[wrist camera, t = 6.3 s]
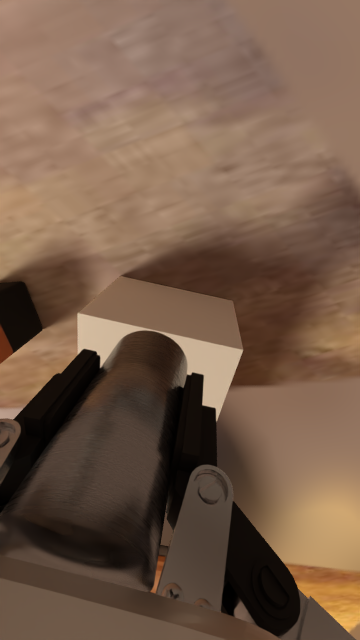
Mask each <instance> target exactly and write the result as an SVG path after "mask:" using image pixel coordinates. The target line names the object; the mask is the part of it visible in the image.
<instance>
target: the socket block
mask: <svg viewBox="0 0 360 640" xmlns="http://www.w3.org/2000/svg"><path fill="white" fill-rule="evenodd" d="M143 330H147V331H155V332H159V333H161V334H164V335H166V336H168V337H170V338H171V339H172V340H174V341H175V342H176V343H177V344H178V345H179V346H180V347H181V349H182V350H183V352H184V354H185V356H186V359H187V364H188V369H187V374H188V375H191V374H192V372H194V373H198V374H203V375H204V383H203V402H202V405H204V406H209V407H213V408H216V422H217V419H218V416H219V414H220V411H221V408H222V406H223V403H224V400H225V398H226V395H227V392H228V390H229V387H230V384H231V382H232V379H233V376H234V374H235V371H236V368H237V366H238V363H239V360H240V358H241V355H242V352H243V346H242V341H241V337H240V332H239V327H238V322H237V318H236V313H235V308H234V303H233V301H232V300H227V299H223V298H218V297H214V296H209V295H204V294H200V293H195V292H191V291H186V290H182V289H177V288H173V287H168V286H164V285H159V284H155V283H150V282H146V281H141V280H136V279H132V278H127V277H123V276H120V277H119V278H117V279H116V280H115V281H114V282H113V283H112V284H110V285H109V286H108V287H107V288H106V289H105V290H104V291H102V292H101V293H100V294H99V295H98V296H97V297H96V298H94V299H93V300H92V301H91V302H90V303H89V304H87V305H86V306H85V307H84V308H83V309H82V310H81V311H79V312H78V354H79V353H80V352H81V351H82V350H83V349H88V350H92V351H96V352H97V355H100V368H101V366H102V365H103V363H104V362H105V361H106V359H107V358H108V356H109V355H110V353H111V352H112V350H113V349H114V347H115V346H116V345H117V343H118V342H119V341H120V340H121V339H122V338H123V337H124V336H126V335H128V334H130V333H132V332H136V331H143ZM186 376H187V375H186Z"/></svg>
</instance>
